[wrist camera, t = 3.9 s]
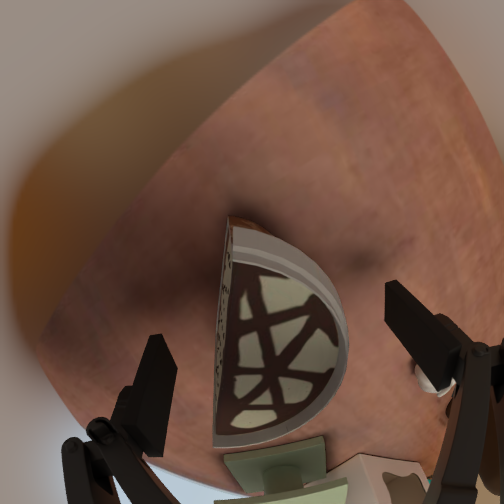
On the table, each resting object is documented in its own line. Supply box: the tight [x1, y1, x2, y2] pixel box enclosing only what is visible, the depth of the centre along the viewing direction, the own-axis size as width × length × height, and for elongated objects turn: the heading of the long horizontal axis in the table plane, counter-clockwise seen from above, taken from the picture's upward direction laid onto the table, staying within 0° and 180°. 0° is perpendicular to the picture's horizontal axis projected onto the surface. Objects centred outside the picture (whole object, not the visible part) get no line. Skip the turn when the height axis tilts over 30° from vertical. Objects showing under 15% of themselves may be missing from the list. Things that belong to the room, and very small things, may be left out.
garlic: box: [415, 364, 456, 397], centre depth 24 cm, size 6×5×5 cm
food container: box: [213, 215, 349, 448], centre depth 17 cm, size 12×6×10 cm, turn 172°
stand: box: [214, 436, 348, 504], centre depth 28 cm, size 14×14×8 cm
